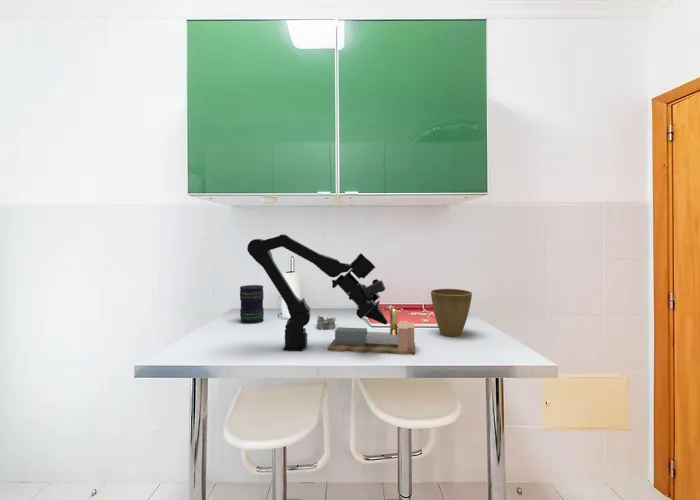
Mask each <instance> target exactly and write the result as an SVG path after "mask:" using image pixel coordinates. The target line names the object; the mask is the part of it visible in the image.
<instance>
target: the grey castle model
mask: <svg viewBox="0 0 700 500" xmlns="http://www.w3.org/2000/svg"><path fill="white" fill-rule="evenodd" d="M324 318H325V317H324V316H320V314H318V315H317V318H316V324H317V325H316V326H317V330H322V331H324V330H332V331H333V330H336V329H335V328H336V325H335V323H336V320H337V319H336V317H335V316H334V317H330V318H329V317H326V319H324Z"/></svg>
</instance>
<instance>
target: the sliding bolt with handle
mask: <svg viewBox="0 0 700 500" xmlns="http://www.w3.org/2000/svg"><path fill="white" fill-rule="evenodd" d="M398 311H399V310H398V308H390V310H389V315H390V316H389V332H383V331H367V332H366V343H376V344H398V326H399V322H398V316H399V315H398Z"/></svg>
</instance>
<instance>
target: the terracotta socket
mask: <svg viewBox="0 0 700 500" xmlns="http://www.w3.org/2000/svg"><path fill="white" fill-rule="evenodd" d="M414 342H415V322H409V321H405V320H403V321H401V320H399V322H398V351H408V350H414Z"/></svg>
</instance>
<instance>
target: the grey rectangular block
mask: <svg viewBox="0 0 700 500" xmlns="http://www.w3.org/2000/svg"><path fill="white" fill-rule="evenodd" d="M366 332H368V328H367V327H366V328H365V327H364V328H363V327H362V328H361V327H343V326H341V327H340V326H338V327H337V328H336V329H334V339H335V345H342V346H364V347H365V346H366V344H367V343H366Z"/></svg>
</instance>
